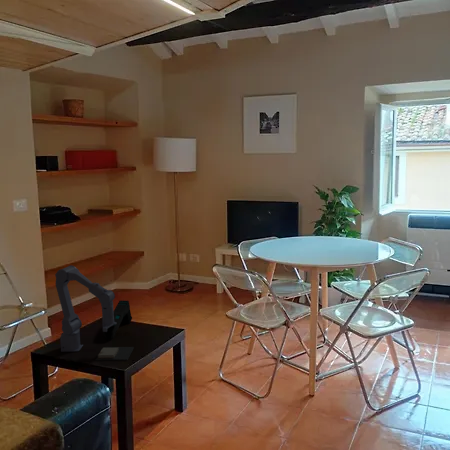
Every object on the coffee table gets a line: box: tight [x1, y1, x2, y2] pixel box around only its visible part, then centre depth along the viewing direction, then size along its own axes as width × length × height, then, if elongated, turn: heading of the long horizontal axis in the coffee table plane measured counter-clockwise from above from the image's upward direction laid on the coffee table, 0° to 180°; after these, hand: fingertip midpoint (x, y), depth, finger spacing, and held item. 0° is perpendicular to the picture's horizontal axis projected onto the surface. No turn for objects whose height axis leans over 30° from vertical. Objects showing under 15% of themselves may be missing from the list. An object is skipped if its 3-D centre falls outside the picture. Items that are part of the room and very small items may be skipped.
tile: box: [97, 347, 119, 358], centre depth 244 cm, size 8×2×9 cm
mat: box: [95, 346, 135, 362], centre depth 245 cm, size 16×15×1 cm
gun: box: [102, 300, 133, 340], centre depth 278 cm, size 7×29×15 cm, turn 171°
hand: (109, 340), depth 246 cm, fingers closed
